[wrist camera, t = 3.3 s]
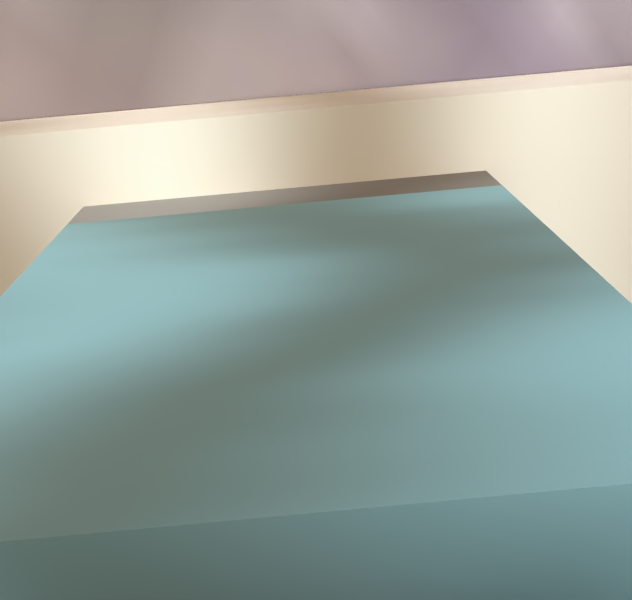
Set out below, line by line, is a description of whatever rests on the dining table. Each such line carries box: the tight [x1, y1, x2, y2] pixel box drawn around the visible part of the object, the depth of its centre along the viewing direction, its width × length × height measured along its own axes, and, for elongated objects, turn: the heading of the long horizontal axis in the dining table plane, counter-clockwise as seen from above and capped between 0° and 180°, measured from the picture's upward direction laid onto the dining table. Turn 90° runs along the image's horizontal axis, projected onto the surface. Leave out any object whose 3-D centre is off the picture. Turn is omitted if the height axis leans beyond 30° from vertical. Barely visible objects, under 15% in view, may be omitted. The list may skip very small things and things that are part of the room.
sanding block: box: [0, 170, 632, 600], centre depth 7 cm, size 6×9×5 cm, turn 4°
